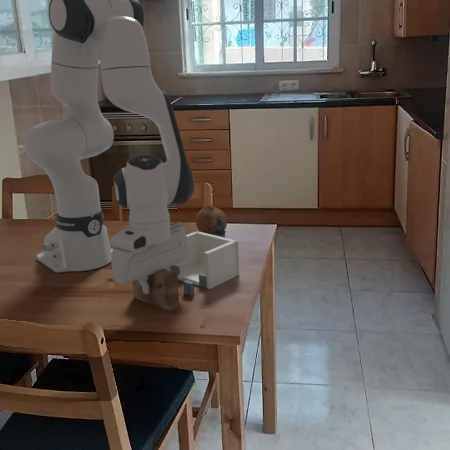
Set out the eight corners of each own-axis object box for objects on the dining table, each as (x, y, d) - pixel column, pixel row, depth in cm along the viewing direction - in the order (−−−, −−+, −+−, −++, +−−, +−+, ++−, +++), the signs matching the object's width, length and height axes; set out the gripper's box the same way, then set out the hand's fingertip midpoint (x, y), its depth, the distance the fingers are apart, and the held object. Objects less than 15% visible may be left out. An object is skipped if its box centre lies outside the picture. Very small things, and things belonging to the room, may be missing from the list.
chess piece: (230, 253, 161) (229, 211, 158) (231, 261, 156) (230, 218, 152) (209, 254, 161) (207, 213, 158) (209, 262, 156) (207, 219, 152)
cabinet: (152, 282, 144) (150, 248, 141) (198, 263, 155) (196, 231, 152) (193, 296, 135) (191, 260, 132) (239, 274, 146) (237, 240, 144)
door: (131, 298, 135) (128, 266, 133) (143, 293, 138) (140, 261, 135) (167, 312, 127) (164, 278, 125) (179, 306, 130) (177, 273, 128)
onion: (198, 232, 181) (196, 201, 178) (228, 231, 180) (227, 200, 177) (195, 242, 172) (193, 209, 169) (227, 241, 171) (225, 208, 168)
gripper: (174, 217, 137) (178, 272, 141) (104, 240, 123) (110, 300, 127) (193, 221, 133) (197, 278, 137) (123, 246, 119) (129, 308, 123)
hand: (155, 289), depth 132 cm, fingers closed on door, 3 cm apart
